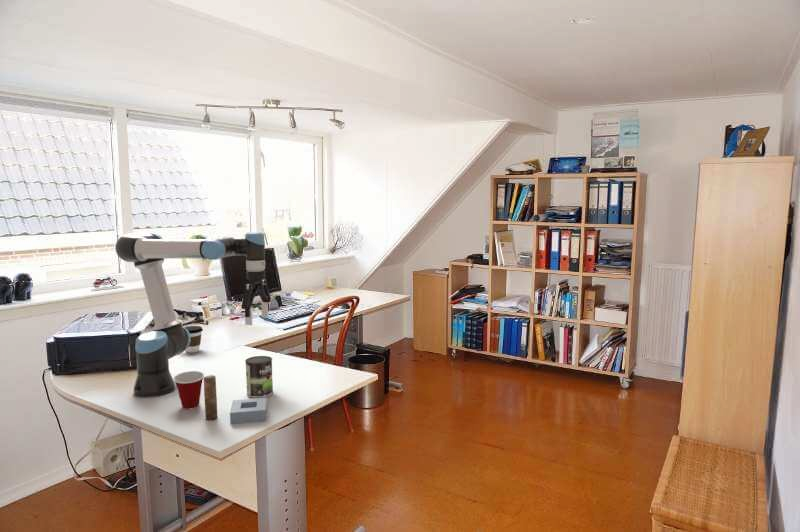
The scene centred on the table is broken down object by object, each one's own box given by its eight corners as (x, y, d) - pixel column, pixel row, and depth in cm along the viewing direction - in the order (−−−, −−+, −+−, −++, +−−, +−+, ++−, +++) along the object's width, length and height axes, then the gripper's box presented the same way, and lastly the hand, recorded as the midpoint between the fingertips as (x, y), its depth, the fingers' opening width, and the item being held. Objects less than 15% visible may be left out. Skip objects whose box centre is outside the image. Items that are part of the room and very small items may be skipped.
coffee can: (278, 391, 215) (277, 358, 213) (259, 400, 206) (258, 364, 204) (260, 387, 220) (259, 354, 218) (241, 395, 211) (239, 360, 210)
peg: (204, 420, 187) (202, 379, 185) (206, 416, 191) (204, 375, 189) (216, 419, 188) (214, 378, 186) (218, 415, 191) (216, 374, 190)
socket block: (230, 424, 184) (229, 412, 183) (233, 410, 195) (232, 400, 195) (266, 420, 186) (265, 409, 186) (266, 407, 198) (266, 397, 198)
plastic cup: (173, 413, 193) (171, 381, 191) (176, 403, 203) (174, 372, 202) (205, 410, 196) (203, 378, 195) (206, 399, 206) (204, 369, 205)
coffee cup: (194, 354, 267) (192, 331, 265) (176, 352, 270) (175, 329, 269) (208, 349, 277) (207, 326, 276) (191, 347, 281) (190, 324, 279)
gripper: (248, 274, 205) (250, 328, 207) (278, 266, 229) (279, 315, 232) (231, 273, 207) (232, 327, 209) (262, 266, 231) (263, 314, 233)
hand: (257, 321), depth 220 cm, fingers open, 13 cm apart
